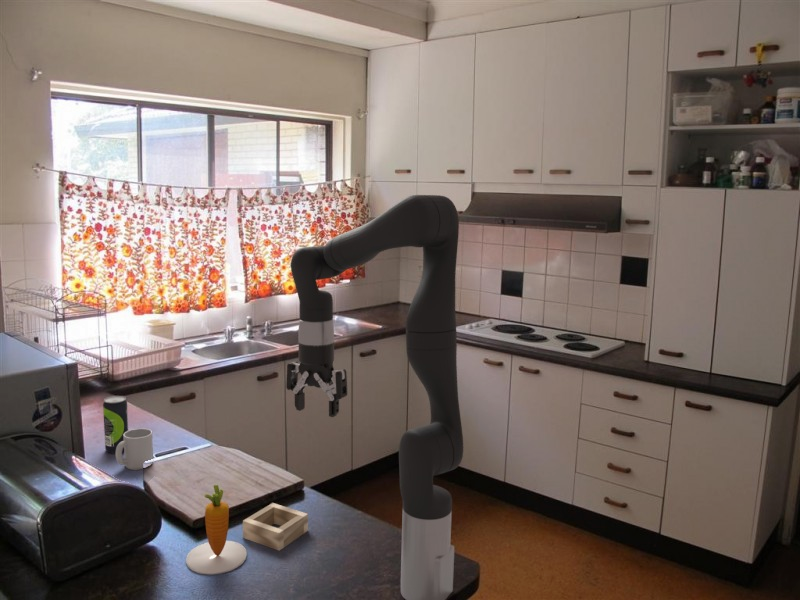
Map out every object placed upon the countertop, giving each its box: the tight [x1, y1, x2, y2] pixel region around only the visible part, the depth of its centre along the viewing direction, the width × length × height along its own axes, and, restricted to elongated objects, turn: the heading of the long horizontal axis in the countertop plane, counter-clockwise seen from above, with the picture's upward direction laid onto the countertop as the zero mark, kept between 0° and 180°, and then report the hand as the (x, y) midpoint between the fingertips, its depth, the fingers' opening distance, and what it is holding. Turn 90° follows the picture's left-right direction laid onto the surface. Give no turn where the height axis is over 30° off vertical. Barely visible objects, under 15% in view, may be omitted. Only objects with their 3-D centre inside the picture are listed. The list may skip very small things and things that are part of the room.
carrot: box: [204, 484, 230, 556], centre depth 143 cm, size 5×5×15 cm
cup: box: [114, 428, 154, 471], centre depth 187 cm, size 7×10×9 cm
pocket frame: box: [242, 502, 309, 552], centre depth 154 cm, size 10×10×4 cm
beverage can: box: [102, 395, 129, 454], centre depth 197 cm, size 6×6×15 cm
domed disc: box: [185, 540, 248, 575], centre depth 144 cm, size 12×12×1 cm
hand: (316, 412), depth 152 cm, fingers open, 8 cm apart
